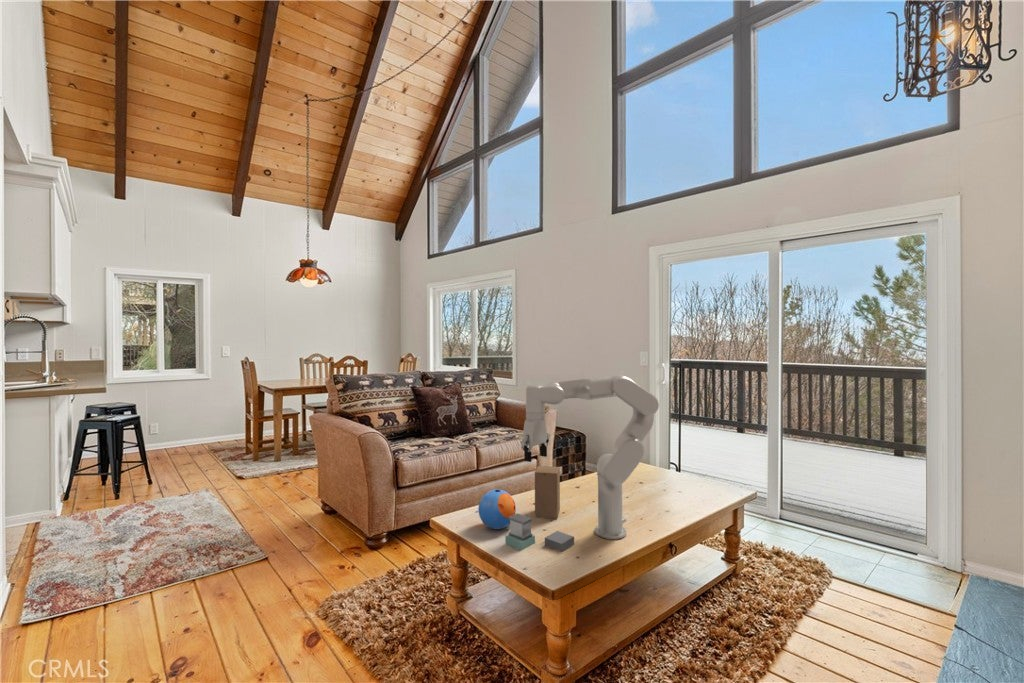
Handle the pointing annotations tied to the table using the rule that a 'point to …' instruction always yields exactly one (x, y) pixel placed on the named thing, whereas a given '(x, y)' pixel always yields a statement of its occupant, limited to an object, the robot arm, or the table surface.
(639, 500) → the table surface
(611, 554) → the table surface
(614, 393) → the robot arm
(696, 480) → the table surface
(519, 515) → the housing
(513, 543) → the stand
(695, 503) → the table surface
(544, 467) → the wooden block
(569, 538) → the stand
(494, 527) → the treat dispenser ball
